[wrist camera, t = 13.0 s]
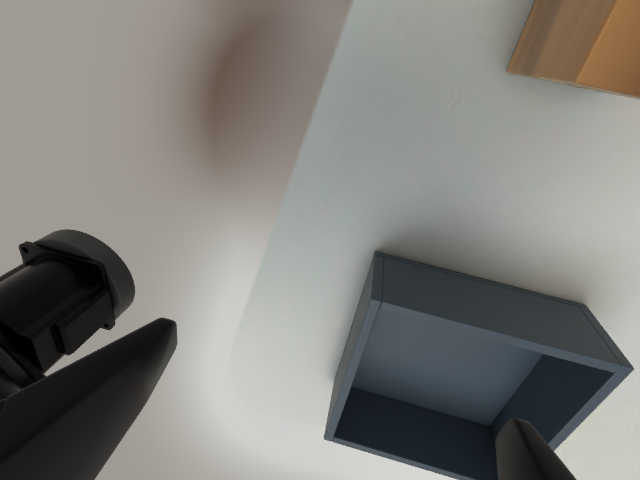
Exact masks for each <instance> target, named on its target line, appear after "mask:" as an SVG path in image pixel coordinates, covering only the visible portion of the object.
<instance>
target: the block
mask: <svg viewBox="0 0 640 480" xmlns="http://www.w3.org/2000/svg"><path fill="white" fill-rule="evenodd" d="M507 72H508V73H512V74H517V75H522V76H527V77H531V78H536V79H541V80H546V81H551V82H556V83H560V84H565V85H570V86H575V87H580V88H584V89H589V90H594V91H599V92H604V93H609V94H615V95H620V96H625V97H631V98H636V99H640V0H535V3H534V5H533V7H532V10H531V12H530V15H529V17H528V20H527V22H526V24H525V27H524V29H523V32H522V34H521V37H520V39H519V41H518V44H517V46H516V49H515V51H514V54H513V56H512V58H511V61H510V63H509V66H508V68H507Z"/></svg>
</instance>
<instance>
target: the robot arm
mask: <svg viewBox="0 0 640 480" xmlns="http://www.w3.org/2000/svg"><path fill="white" fill-rule="evenodd" d="M19 250H20V253H21V256H22V259H23V262H24V263H23V264H21V265H20V266H18V267H16V268H14V269H13V270H11V271H9V272H7V273H6V274H4V275H2V276H0V480H94V479H95V478H96V476H97V475H98V473H99V472H100V471H101V469H102V468H103V466H104V465H105V463H106V462H107V460H108V459H109V457H110V456H111V454H112V453H113V451H114V450H115V449H116V447H117V446H118V444H119V443H120V441H121V440H122V438H123V437H124V435H125V434H126V432H127V431H128V429H129V428H130V426H131V425H132V423H133V422H134V420H135V419H136V417H137V416H138V415H139V413H140V412H141V410H142V409H143V407H144V406H145V404H146V402H147V401H148V399H149V397H150V395H151V394H152V392H153V390H154V388H155V386H156V384H157V382H158V381H159V379H160V377H161V375H162V373H163V371H164V370H165V368H166V366H167V364H168V362H169V360H170V359H171V357H172V355H173V353H174V351H175V349H176V346H177V325H176V322H175V321H173V320H170V319H166V318H159V319H156V320H155V321H153V322H151V323H149V324H147V325H145V326H143V327H141V328H139V329H137V330H135V331H133V332H131V333H129V334H128V335H126V336H124V337H122V338H120V339H118V340H116V341H114V342H112V343H110V344H108V345H106V346H105V347H103V348H101V349H99V350H97V351H95V352H93V353H91V354H89V355H87V356H85V357H83V358H81V359H79V360H77V361H76V362H74V363H72V364H70V365H68V366H66V367H64V368H62V369H60V370H58V371H56V372H54V373H53V374H51V375H49V376H47V377H46V376H45V375H44V373H45V372H46V371H47V370H49V368H51V366H53V365H54V364H55V363H56V362H57V361H58V360H59V359H61V357H63V356H64V355H71V354H72V353H74V352H75V351H76V350H77V349H78V348H79V347H80V346H81V345H82V344H83V343H84V342H85V341H87V339H89V338H90V337H91V336H92V335H93V334H94V333H95V332H96V331H97V330H98V329H99V328H103V329H106V330H110V329H112V328H113V327H114V326H115V319H114V313H113V307H112V301H111V295H110V289H109V283H108V278H107V272H106V267H105V265H104V264H103V263H102V262H100V261H98V260H94V259H90V258H87V257H83V256H79V255H76V254H72V253H68V252H65V251H61V250H57V249H54V248H50V247H46V246H43V245H39V244H35V243H32V242H27V241H26V242H24V243H22V244H20V245H19ZM495 448H496V460H497V472H498V480H576V478H575V477H574V476H573V475H572V473H571V472H570V471H569V470H568V468H567V467H566V466H565V465H564V463H563V462H562V461H561V460H560V459H559V457H558V456H557V455H556V454H555V452H554V451H553V450H552V449H551V447H550V446H549V445H548V444H547V442H546V441H545V440H544V439H543V437H542V436H541V435H540V434H539V433H538V431H537V430H536V429H535V428H534V426H533V425H532V424H531V423H530V422H528V421H526V420H522V419H519V418H515V417H512V418H510V419H509V420H508V421H507V422H506V423H505V425H504V426H503V427H502V428H501V430H500V431H499V432H498V434H497V436H496V439H495Z"/></svg>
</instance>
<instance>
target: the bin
mask: <svg viewBox="0 0 640 480" xmlns="http://www.w3.org/2000/svg"><path fill="white" fill-rule="evenodd" d="M633 370H634V368H633V366H632V365H631V364H630V362H629V361H628V360H627V358H626V357H625V356H624V355H623V353H622V352H621V351H620V349H619V348H618V347H617V345H616V344H615V343H614V341H613V340H612V339H611V338H610V336H609V335H608V334H607V332H606V331H605V330H604V328H603V327H602V326H601V324H600V323H599V322H598V320H597V319H596V318H595V317H594V315H593V314H592V313H591V311H590V310H589V309H588V307H587V306H586V305H583V304H579V303H575V302H571V301H567V300H563V299H560V298H556V297H552V296H548V295H544V294H540V293H536V292H532V291H528V290H524V289H520V288H516V287H513V286H509V285H505V284H501V283H497V282H493V281H489V280H485V279H481V278H477V277H473V276H469V275H466V274H462V273H458V272H454V271H450V270H446V269H442V268H438V267H434V266H430V265H426V264H422V263H419V262H415V261H411V260H407V259H403V258H399V257H395V256H391V255H387V254H383V253H379V252H375V253H374V256H373V259H372V263H371V266H370V269H369V272H368V275H367V279H366V282H365V285H364V288H363V291H362V295H361V298H360V301H359V304H358V307H357V310H356V314H355V317H354V320H353V323H352V326H351V330H350V333H349V336H348V339H347V342H346V346H345V349H344V352H343V355H342V358H341V362H340V365H339V368H338V371H337V374H336V377H335V381H334V385H333V391H332V396H331V402H330V407H329V413H328V418H327V424H326V429H325V435H324V439H325V440H329V441H333V442H335V443H338V444H342V445H345V446H348V447H352V448H355V449H359V450H362V451H365V452H368V453H372V454H375V455H378V456H382V457H385V458H388V459H392V460H395V461H398V462H402V463H405V464H408V465H412V466H415V467H419V468H422V469H425V470H428V471H432V472H435V473H438V474H442V475H445V476H448V477H452V478H455V479H458V480H498V472H497V460H496V448H495V439H496V436H497V434H498V432H499V431H500V430H501V428H502V427H503V426H504V425H505V423H506V422H507V421H508V420H509V419H510V418H512V417H515V418H519V419H522V420H526V421H528V422H530V423H531V424H532V425H533V426H534V428H535V429H536V430H537V431H538V433H539V434H540V435H541V436H542V437H543V439H544V440H545V441H546V442H547V444H548V445H549V446H550V447H551V449H552V450H553V451H554V450H555V449H556V448H557V447H558V446H559V445H560V444H561V443H562V442H563V441H564V440H565V439H566V438H567V437H568V436H569V435H570V434H571V433H572V432H573V431H574V430H575V429H576V428H577V427H578V426H579V425H580V424H581V423H582V422H583V421H584V420H585V419H586V418H587V417H588V416H589V415H590V414H591V413H592V412H593V411H594V410H595V408H596V407H597V406H598V405H599V404H600V403H601V402H602V401H603V400H604V399H605V398H606V397H607V396H608V395H609V394H610V393H611V392H612V391H613V390H614V389H615V388H616V387H617V386H618V385H619V384H620V383H621V382H622V381H623V380H624V379H625V378H626V377H627V376H628V375H629V374H630V373H631V372H632V371H633Z"/></svg>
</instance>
